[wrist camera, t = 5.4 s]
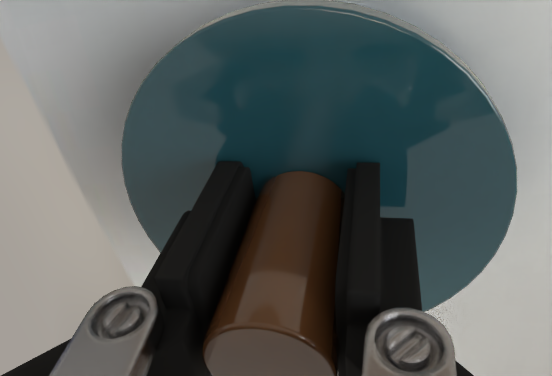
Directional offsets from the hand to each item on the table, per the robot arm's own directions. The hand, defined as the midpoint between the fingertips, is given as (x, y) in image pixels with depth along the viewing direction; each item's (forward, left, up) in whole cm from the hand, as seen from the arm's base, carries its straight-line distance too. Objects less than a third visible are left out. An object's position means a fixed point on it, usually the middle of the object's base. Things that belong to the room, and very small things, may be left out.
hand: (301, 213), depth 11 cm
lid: (0, 0, -1) cm, 1 cm away
